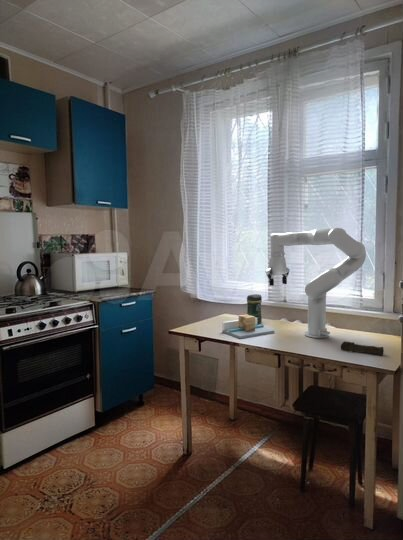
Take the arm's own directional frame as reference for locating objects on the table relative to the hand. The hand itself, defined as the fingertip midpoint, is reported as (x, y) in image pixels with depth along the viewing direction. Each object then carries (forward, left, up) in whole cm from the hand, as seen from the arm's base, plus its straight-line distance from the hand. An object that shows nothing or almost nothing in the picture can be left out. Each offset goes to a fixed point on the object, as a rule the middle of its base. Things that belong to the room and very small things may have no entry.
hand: (278, 284), depth 223 cm
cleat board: (+8, +16, -28) cm, 33 cm away
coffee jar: (+26, -2, -28) cm, 38 cm away
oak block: (+9, +16, -26) cm, 32 cm away
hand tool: (-52, -7, -28) cm, 60 cm away
